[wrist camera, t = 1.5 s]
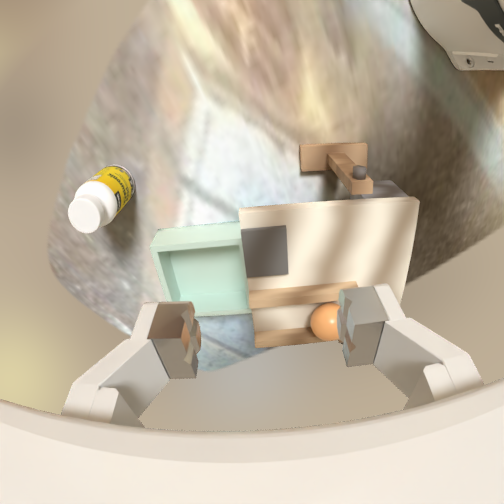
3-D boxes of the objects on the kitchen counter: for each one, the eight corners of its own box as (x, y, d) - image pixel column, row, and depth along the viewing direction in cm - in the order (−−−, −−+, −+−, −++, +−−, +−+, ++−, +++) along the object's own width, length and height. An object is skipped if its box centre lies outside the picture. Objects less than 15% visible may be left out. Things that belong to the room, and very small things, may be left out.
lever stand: (364, 141, 35) (403, 169, 25) (355, 289, 46) (375, 342, 37) (299, 143, 35) (318, 172, 26) (303, 294, 47) (314, 350, 37)
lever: (391, 176, 33) (427, 208, 25) (378, 288, 41) (399, 333, 34) (240, 185, 34) (238, 222, 26) (255, 300, 42) (255, 350, 35)
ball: (345, 293, 32) (354, 319, 29) (342, 320, 34) (350, 346, 31) (308, 296, 32) (314, 324, 29) (307, 323, 35) (312, 350, 31)
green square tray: (245, 220, 40) (245, 238, 36) (254, 291, 46) (254, 312, 43) (158, 229, 41) (149, 247, 37) (177, 297, 47) (172, 317, 43)
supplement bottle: (142, 194, 38) (115, 231, 30) (109, 208, 39) (77, 246, 31) (125, 156, 35) (90, 184, 27) (91, 172, 36) (53, 203, 28)
